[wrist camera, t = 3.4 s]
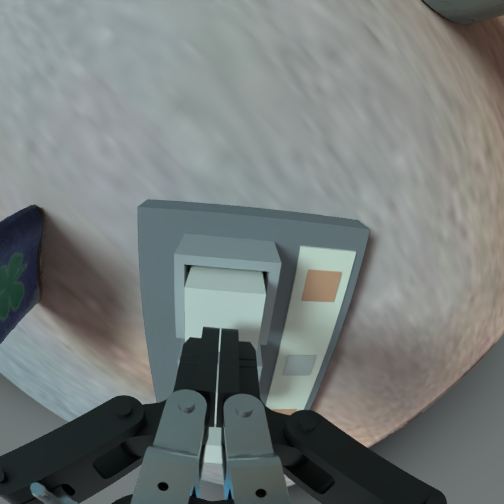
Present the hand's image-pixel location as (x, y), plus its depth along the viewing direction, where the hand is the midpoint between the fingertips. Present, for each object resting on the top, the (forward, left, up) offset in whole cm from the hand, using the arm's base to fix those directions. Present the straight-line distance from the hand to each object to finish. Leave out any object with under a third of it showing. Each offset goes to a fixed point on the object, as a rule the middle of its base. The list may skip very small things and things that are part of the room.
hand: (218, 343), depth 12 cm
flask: (+1, -16, -8) cm, 18 cm away
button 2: (0, 0, -4) cm, 4 cm away
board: (+7, +2, -8) cm, 11 cm away
